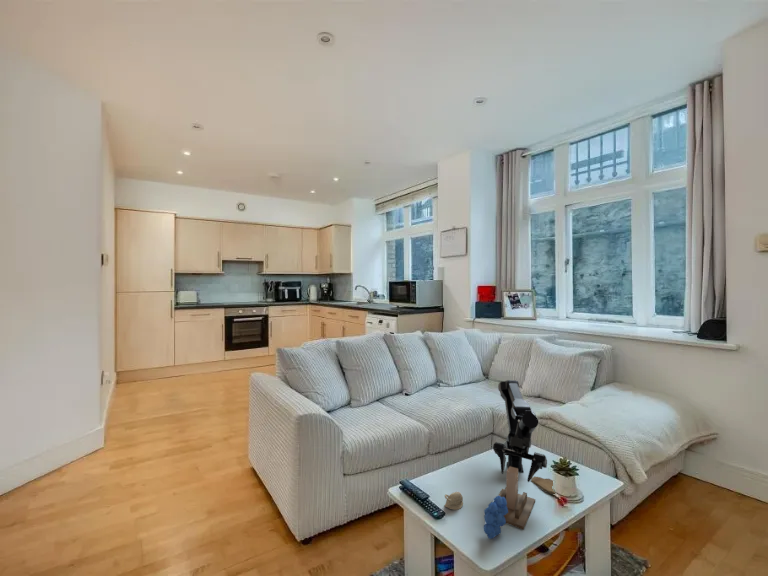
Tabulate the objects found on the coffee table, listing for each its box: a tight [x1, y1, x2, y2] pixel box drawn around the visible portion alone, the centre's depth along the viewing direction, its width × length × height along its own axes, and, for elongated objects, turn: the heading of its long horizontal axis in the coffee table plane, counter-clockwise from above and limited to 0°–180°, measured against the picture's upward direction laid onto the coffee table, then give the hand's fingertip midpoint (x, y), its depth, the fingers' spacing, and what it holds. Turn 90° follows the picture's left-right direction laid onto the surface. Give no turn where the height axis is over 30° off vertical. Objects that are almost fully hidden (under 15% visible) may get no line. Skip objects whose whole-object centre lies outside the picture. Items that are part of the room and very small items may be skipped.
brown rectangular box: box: [505, 466, 519, 510], centre depth 130 cm, size 3×4×13 cm
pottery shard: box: [530, 475, 555, 495], centre depth 143 cm, size 8×3×15 cm
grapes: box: [483, 495, 508, 540], centre depth 117 cm, size 12×7×12 cm, turn 131°
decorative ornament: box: [443, 491, 464, 511], centre depth 131 cm, size 4×8×5 cm, turn 115°
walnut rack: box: [497, 487, 536, 530], centre depth 130 cm, size 18×12×4 cm, turn 146°
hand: (514, 477), depth 133 cm, fingers open, 9 cm apart
